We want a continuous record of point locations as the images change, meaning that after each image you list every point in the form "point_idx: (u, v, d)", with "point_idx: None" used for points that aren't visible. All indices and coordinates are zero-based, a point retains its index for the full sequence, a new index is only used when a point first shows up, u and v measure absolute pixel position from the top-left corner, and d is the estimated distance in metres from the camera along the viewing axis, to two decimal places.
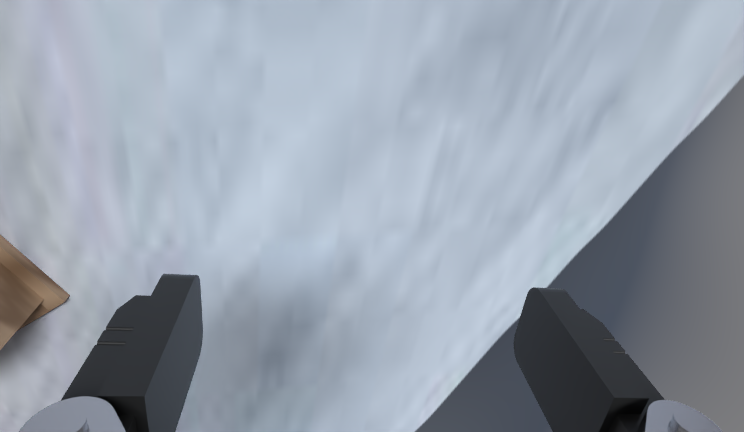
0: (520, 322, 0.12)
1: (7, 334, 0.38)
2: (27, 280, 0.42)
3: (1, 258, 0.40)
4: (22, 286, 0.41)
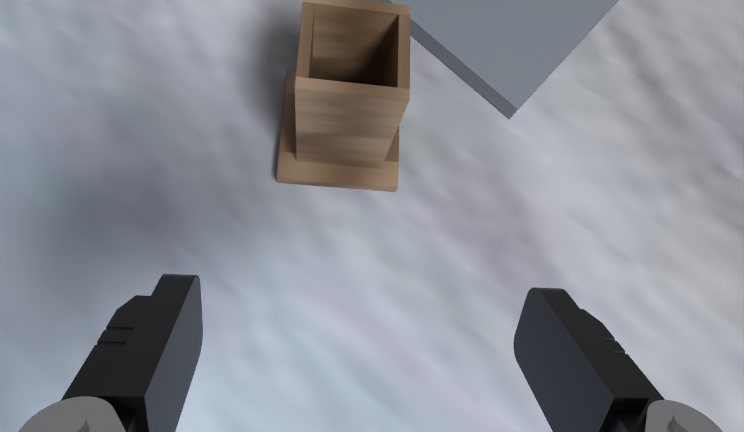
0: (520, 322, 0.12)
1: (302, 126, 0.27)
2: (329, 170, 0.32)
3: (369, 173, 0.32)
4: (328, 161, 0.31)
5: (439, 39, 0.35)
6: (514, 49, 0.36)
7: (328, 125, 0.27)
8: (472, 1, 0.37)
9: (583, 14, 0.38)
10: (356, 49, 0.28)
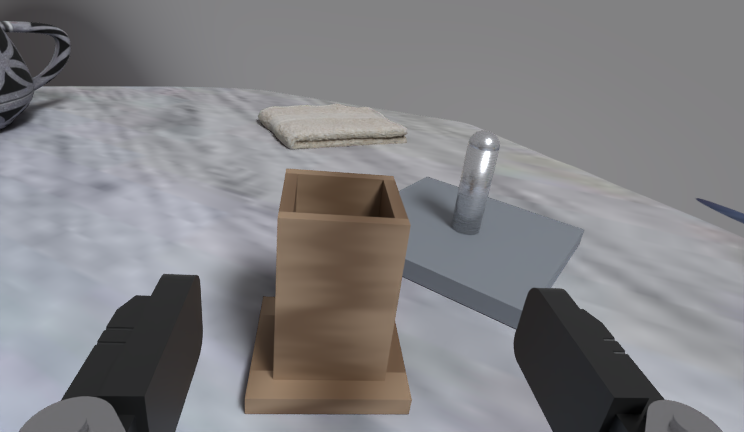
0: (520, 322, 0.12)
1: (283, 296, 0.21)
2: (317, 386, 0.24)
3: (371, 386, 0.24)
4: (315, 373, 0.24)
5: (423, 265, 0.34)
6: (501, 269, 0.35)
7: (316, 291, 0.21)
8: (447, 240, 0.38)
9: (554, 245, 0.39)
10: None
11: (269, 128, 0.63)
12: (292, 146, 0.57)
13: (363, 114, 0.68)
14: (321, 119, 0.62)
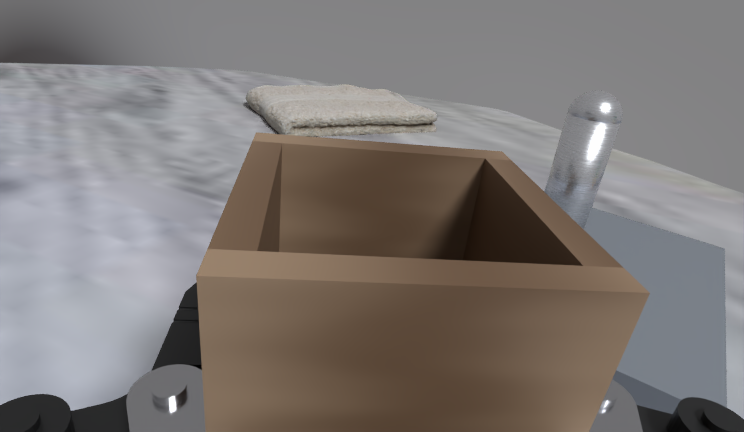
0: None
1: None
2: None
3: None
4: None
5: None
6: (638, 322, 0.20)
7: None
8: None
9: (697, 275, 0.25)
10: None
11: (259, 112, 0.48)
12: (287, 133, 0.43)
13: (380, 96, 0.54)
14: (326, 100, 0.48)
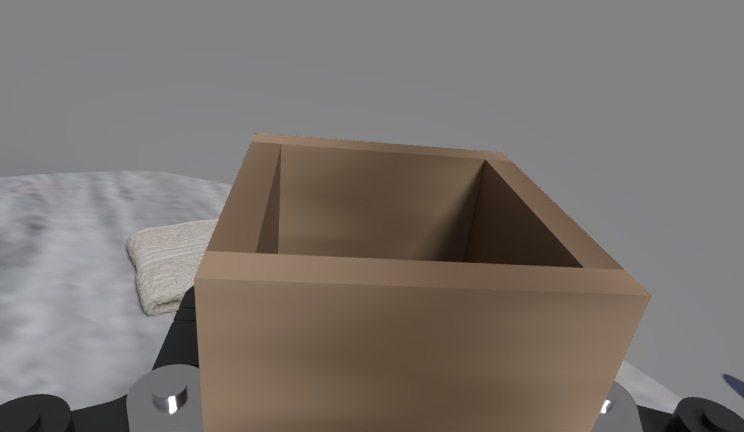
0: None
1: None
2: None
3: None
4: None
5: None
6: None
7: None
8: None
9: None
10: None
11: (136, 266, 0.45)
12: (150, 313, 0.39)
13: None
14: None
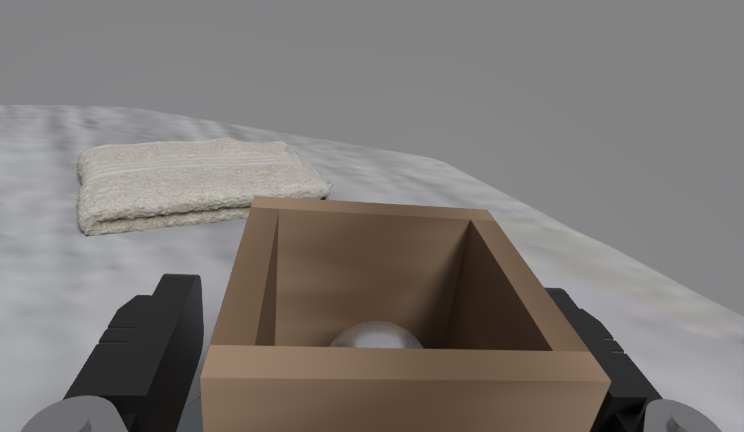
0: None
1: None
2: None
3: None
4: None
5: None
6: None
7: None
8: None
9: None
10: None
11: None
12: (88, 231, 0.30)
13: (265, 156, 0.41)
14: (173, 171, 0.35)
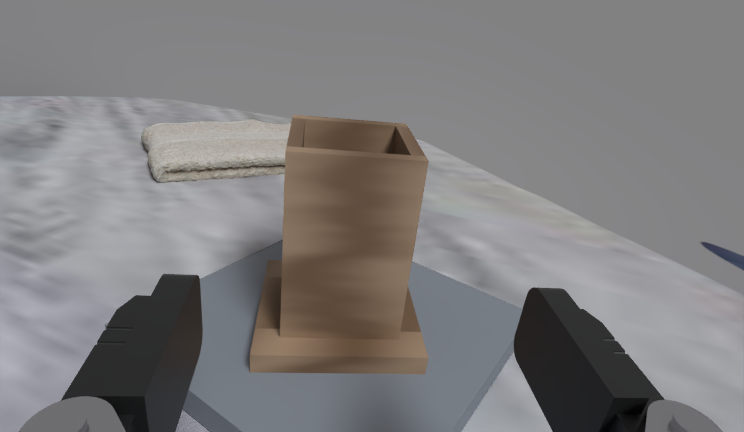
0: (520, 322, 0.12)
1: (291, 241, 0.20)
2: (327, 344, 0.22)
3: (384, 344, 0.22)
4: (324, 330, 0.22)
5: (224, 410, 0.19)
6: (366, 412, 0.20)
7: (326, 236, 0.20)
8: None
9: (476, 348, 0.24)
10: None
11: (149, 152, 0.48)
12: (159, 178, 0.42)
13: (282, 133, 0.53)
14: (215, 140, 0.47)
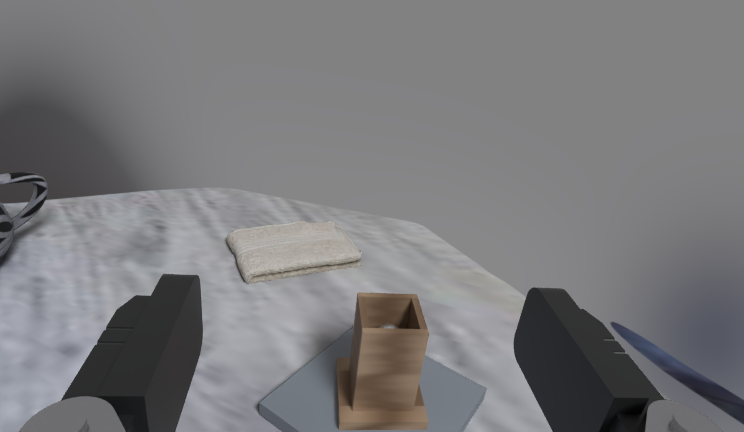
0: (520, 322, 0.12)
1: (362, 368, 0.41)
2: (376, 414, 0.43)
3: (405, 414, 0.43)
4: (375, 407, 0.43)
5: None
6: None
7: (379, 366, 0.41)
8: None
9: (453, 413, 0.45)
10: None
11: (234, 253, 0.69)
12: (248, 281, 0.63)
13: (324, 234, 0.74)
14: (281, 247, 0.68)
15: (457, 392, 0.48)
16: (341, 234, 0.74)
